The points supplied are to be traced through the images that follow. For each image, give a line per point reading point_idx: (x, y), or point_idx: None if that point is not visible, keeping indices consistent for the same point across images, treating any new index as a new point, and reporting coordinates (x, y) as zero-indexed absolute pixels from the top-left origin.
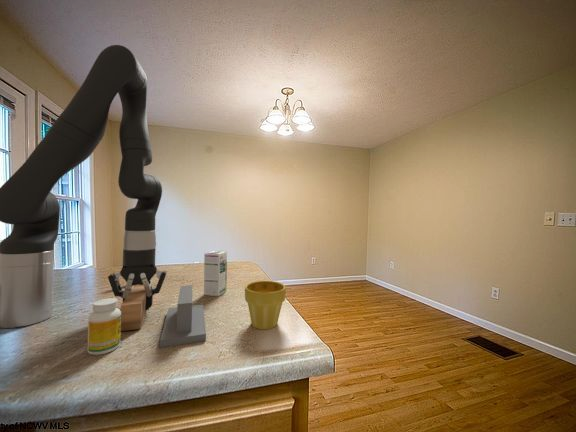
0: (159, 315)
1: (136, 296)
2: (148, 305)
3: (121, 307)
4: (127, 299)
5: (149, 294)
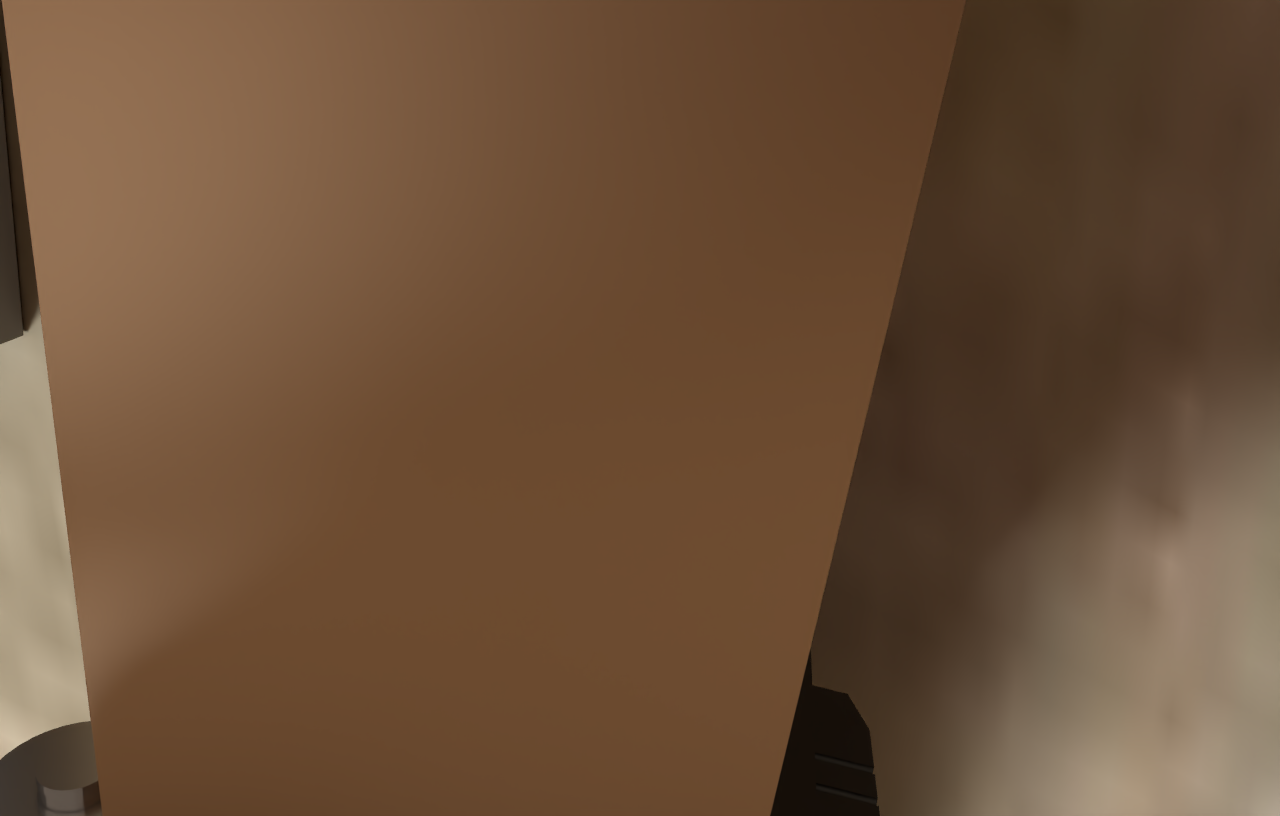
0: None
1: (387, 514)
2: None
3: None
4: (771, 212)
5: (71, 764)
